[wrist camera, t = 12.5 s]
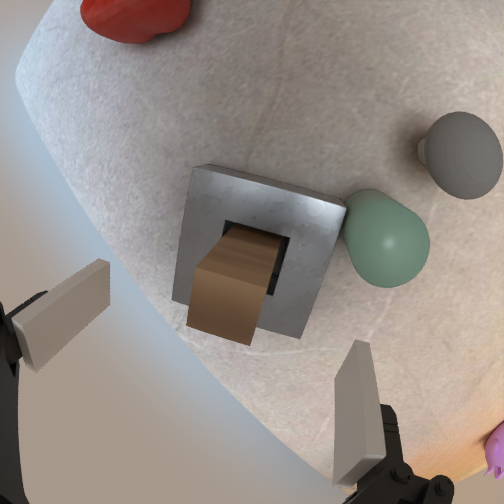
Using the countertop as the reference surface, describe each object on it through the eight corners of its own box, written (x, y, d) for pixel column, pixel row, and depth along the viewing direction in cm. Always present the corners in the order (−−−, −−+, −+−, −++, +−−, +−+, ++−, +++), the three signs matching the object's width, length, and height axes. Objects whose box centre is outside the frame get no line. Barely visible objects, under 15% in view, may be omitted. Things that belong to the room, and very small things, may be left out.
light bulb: (455, 186, 23) (516, 209, 14) (398, 184, 24) (444, 205, 15) (454, 122, 21) (517, 117, 12) (396, 116, 22) (443, 101, 13)
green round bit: (349, 180, 25) (366, 194, 17) (405, 200, 24) (440, 221, 17) (331, 239, 27) (339, 275, 19) (386, 256, 26) (410, 296, 19)
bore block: (208, 164, 26) (192, 167, 23) (340, 199, 25) (346, 208, 22) (187, 281, 31) (171, 300, 27) (301, 316, 30) (300, 339, 26)
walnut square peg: (241, 217, 28) (195, 266, 16) (284, 229, 27) (267, 288, 16) (232, 257, 29) (186, 325, 18) (273, 269, 29) (249, 346, 17)
